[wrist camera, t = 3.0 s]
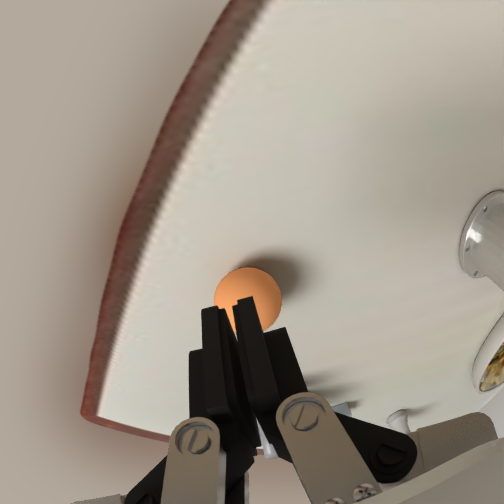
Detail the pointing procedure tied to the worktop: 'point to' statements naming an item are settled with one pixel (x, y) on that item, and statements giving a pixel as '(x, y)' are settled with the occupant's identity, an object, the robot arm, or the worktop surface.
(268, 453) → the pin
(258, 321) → the robot arm
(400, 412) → the rook chess piece
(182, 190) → the worktop surface
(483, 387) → the bowl
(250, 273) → the ball
